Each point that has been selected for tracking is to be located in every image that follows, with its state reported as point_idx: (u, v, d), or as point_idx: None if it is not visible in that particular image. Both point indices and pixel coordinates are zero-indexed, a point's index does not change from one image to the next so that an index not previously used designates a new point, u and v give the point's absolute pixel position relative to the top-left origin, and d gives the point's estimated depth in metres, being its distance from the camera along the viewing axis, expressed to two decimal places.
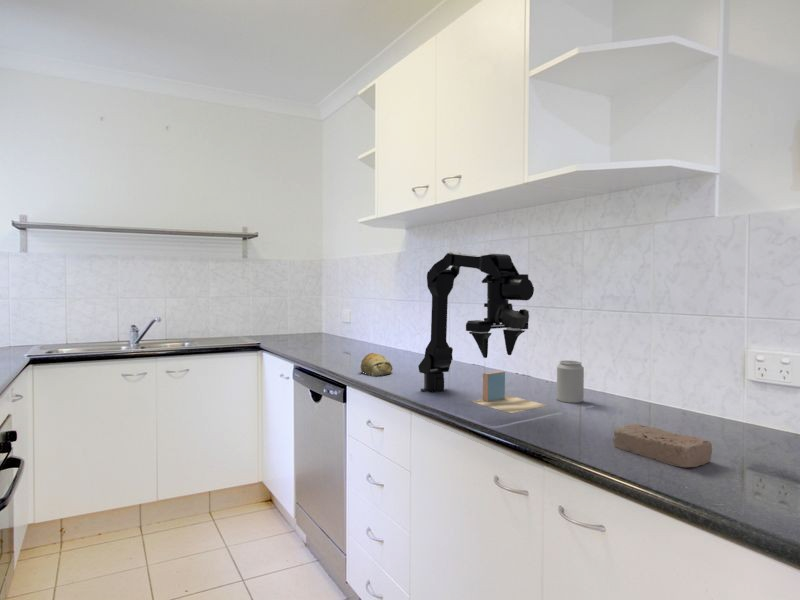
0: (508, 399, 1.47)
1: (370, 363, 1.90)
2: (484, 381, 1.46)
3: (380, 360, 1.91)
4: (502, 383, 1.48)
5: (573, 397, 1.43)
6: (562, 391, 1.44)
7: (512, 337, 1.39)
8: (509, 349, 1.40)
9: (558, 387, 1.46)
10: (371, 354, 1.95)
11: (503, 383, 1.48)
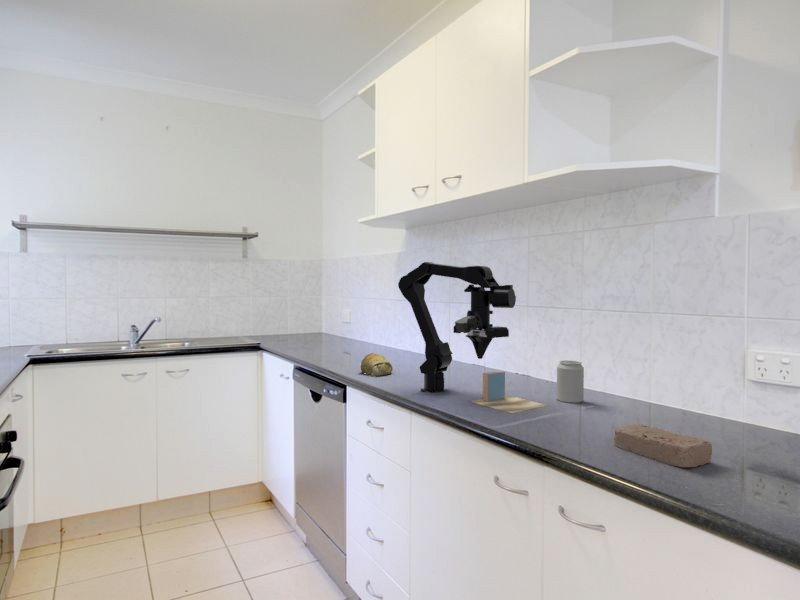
0: (508, 399, 1.47)
1: (370, 363, 1.90)
2: (484, 381, 1.46)
3: (380, 360, 1.91)
4: (502, 383, 1.48)
5: (573, 397, 1.43)
6: (562, 391, 1.44)
7: None
8: None
9: (558, 387, 1.46)
10: (371, 354, 1.94)
11: (503, 383, 1.48)
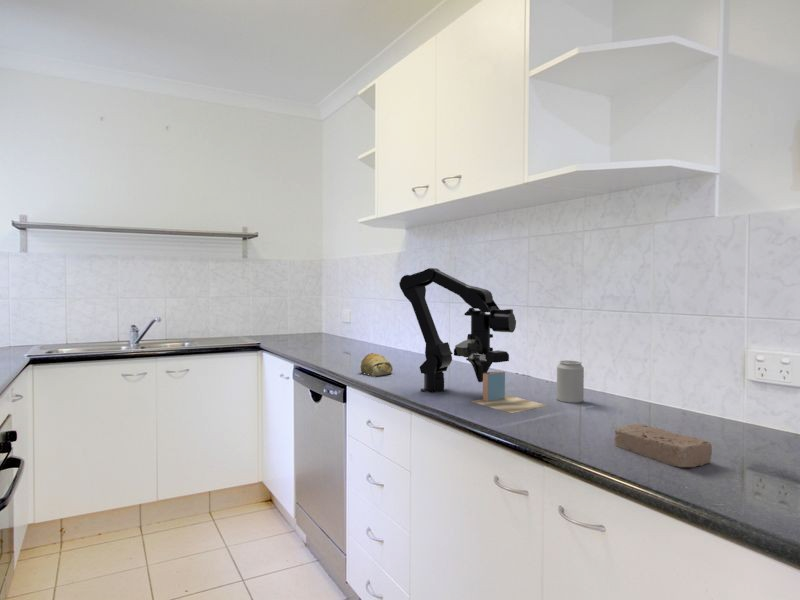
0: (508, 399, 1.47)
1: (370, 364, 1.90)
2: (484, 381, 1.46)
3: (380, 360, 1.91)
4: (502, 383, 1.48)
5: (573, 397, 1.43)
6: (562, 391, 1.44)
7: None
8: None
9: (558, 387, 1.46)
10: (371, 354, 1.94)
11: (503, 383, 1.48)
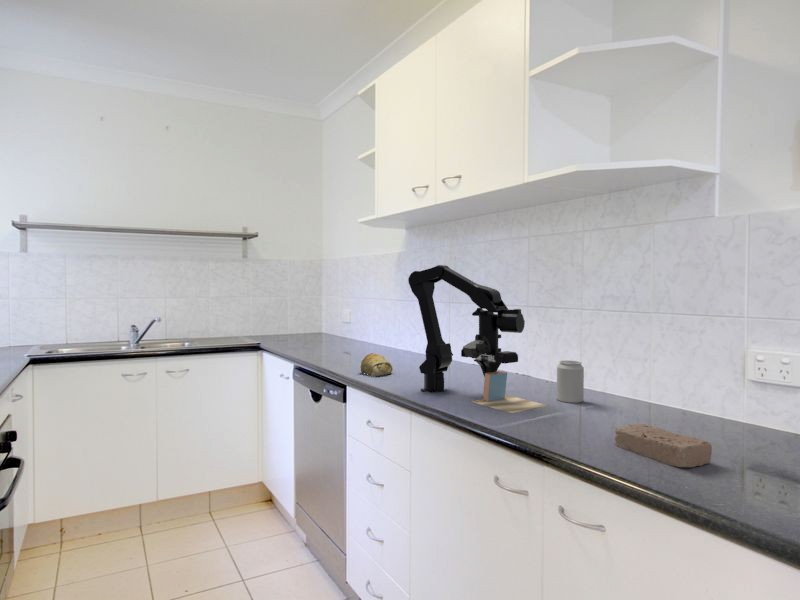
0: (508, 399, 1.47)
1: (370, 364, 1.89)
2: (486, 381, 1.45)
3: (380, 360, 1.90)
4: (503, 383, 1.47)
5: (573, 397, 1.43)
6: (562, 391, 1.44)
7: None
8: None
9: (558, 387, 1.46)
10: (371, 354, 1.94)
11: (504, 383, 1.47)
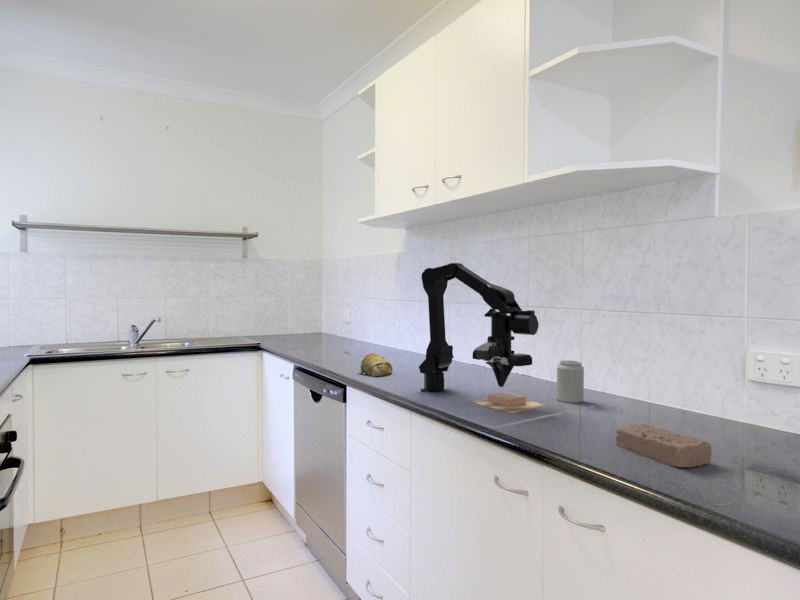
0: None
1: (370, 364, 1.89)
2: (502, 400, 1.40)
3: (380, 360, 1.90)
4: None
5: (573, 397, 1.43)
6: (562, 391, 1.44)
7: None
8: None
9: (558, 387, 1.46)
10: (371, 354, 1.93)
11: None
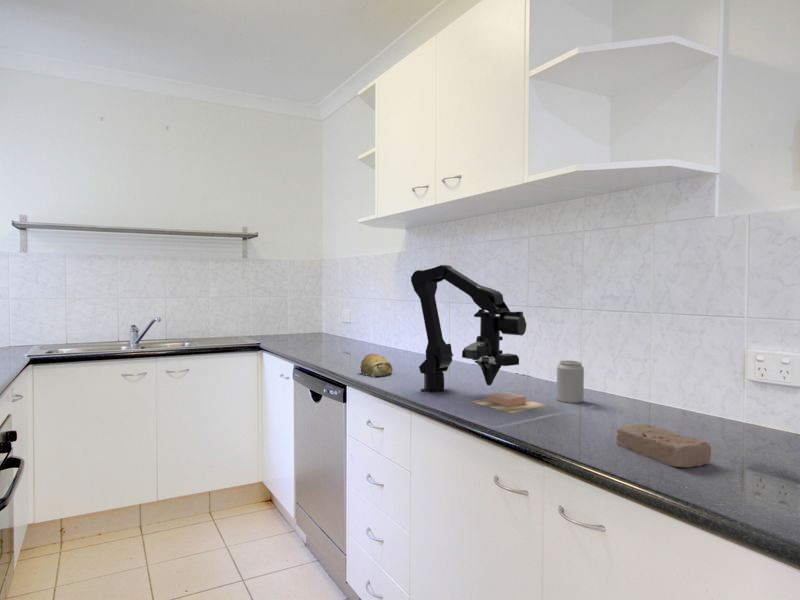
0: None
1: (370, 364, 1.89)
2: (502, 400, 1.40)
3: (380, 361, 1.90)
4: None
5: (573, 397, 1.43)
6: (562, 391, 1.44)
7: None
8: None
9: (558, 387, 1.46)
10: (371, 355, 1.93)
11: None
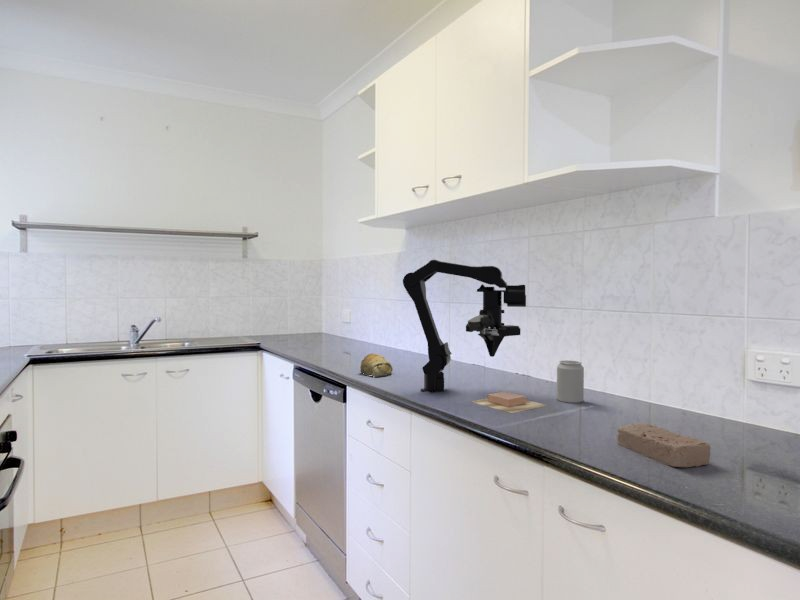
0: None
1: (370, 364, 1.88)
2: (502, 400, 1.40)
3: (380, 361, 1.89)
4: None
5: (573, 397, 1.43)
6: (562, 391, 1.44)
7: None
8: None
9: (558, 387, 1.46)
10: (371, 355, 1.93)
11: None
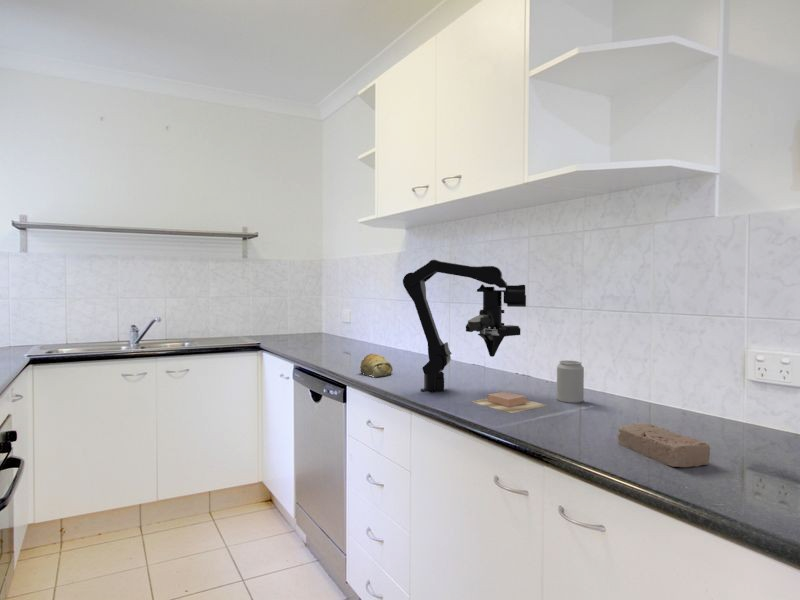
0: None
1: (370, 364, 1.88)
2: (502, 400, 1.40)
3: (380, 361, 1.89)
4: None
5: (573, 397, 1.43)
6: (562, 391, 1.44)
7: None
8: None
9: (558, 387, 1.46)
10: (371, 355, 1.93)
11: None
